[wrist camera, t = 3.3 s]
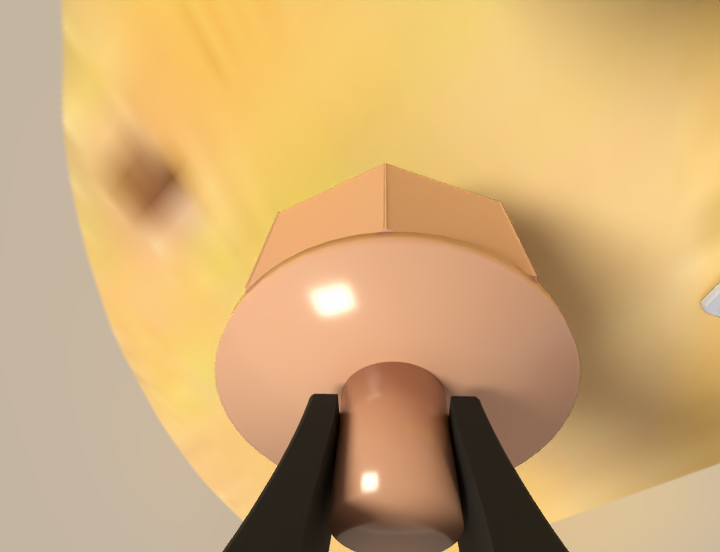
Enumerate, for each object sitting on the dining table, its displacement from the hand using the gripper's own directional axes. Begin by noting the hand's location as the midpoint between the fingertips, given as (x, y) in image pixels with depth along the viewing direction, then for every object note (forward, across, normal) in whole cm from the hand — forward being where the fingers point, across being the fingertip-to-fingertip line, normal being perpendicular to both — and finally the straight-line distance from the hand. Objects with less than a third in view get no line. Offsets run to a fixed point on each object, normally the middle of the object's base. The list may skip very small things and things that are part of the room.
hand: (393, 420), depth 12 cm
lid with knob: (+5, 0, 0) cm, 5 cm away
